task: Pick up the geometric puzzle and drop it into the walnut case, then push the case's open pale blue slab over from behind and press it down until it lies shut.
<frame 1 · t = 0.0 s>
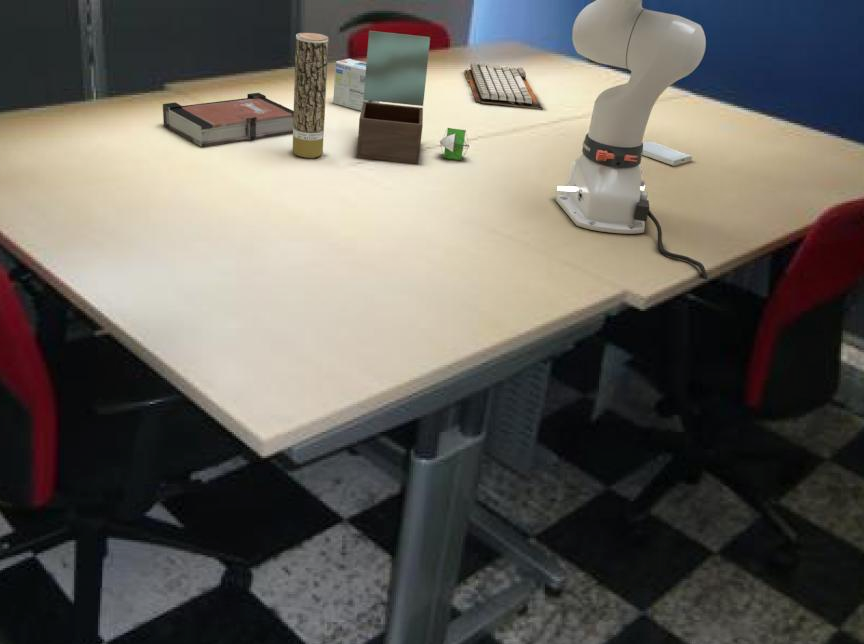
hard drive: (660, 157, 226), on the table
book: (232, 130, 212), on the table
light bulb box: (355, 106, 238), on the table
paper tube: (307, 154, 202), on the table
pale blue slab: (396, 68, 208), point 16 cm above the table, hinge at 105.0°
mechanical keyboard: (500, 89, 268), on the table
geometric puzzle: (452, 158, 210), on the table
case: (388, 151, 209), on the table
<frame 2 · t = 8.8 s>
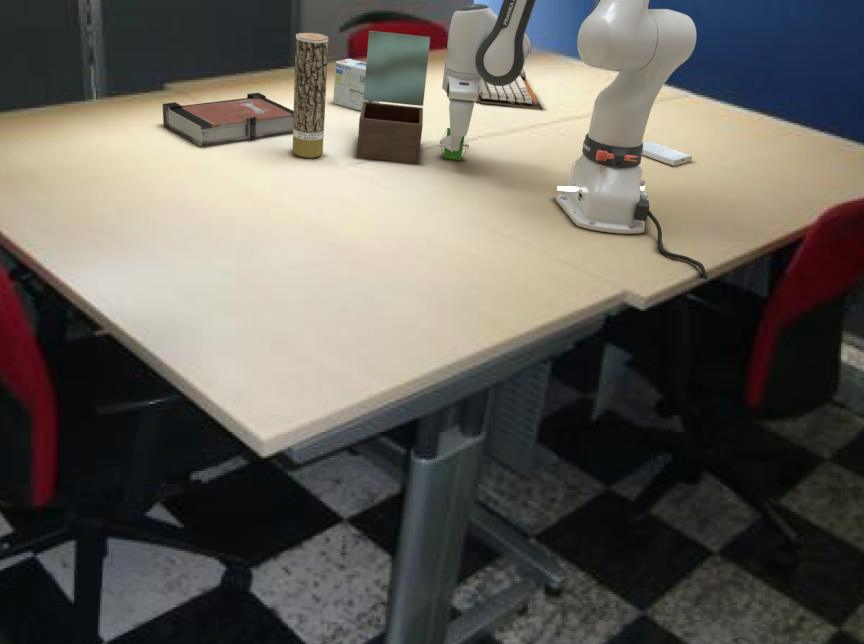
hand: (454, 143, 208), 3 cm above the table, tool pointing down, fingers closed on geometric puzzle, 7 cm apart
geometric puzzle: (452, 158, 210), on the table, touching gripper
everything else where it was.
when the fingers open (11 cm above the table, at t = 16.2 s): geometric puzzle stays where it is, resting on case.
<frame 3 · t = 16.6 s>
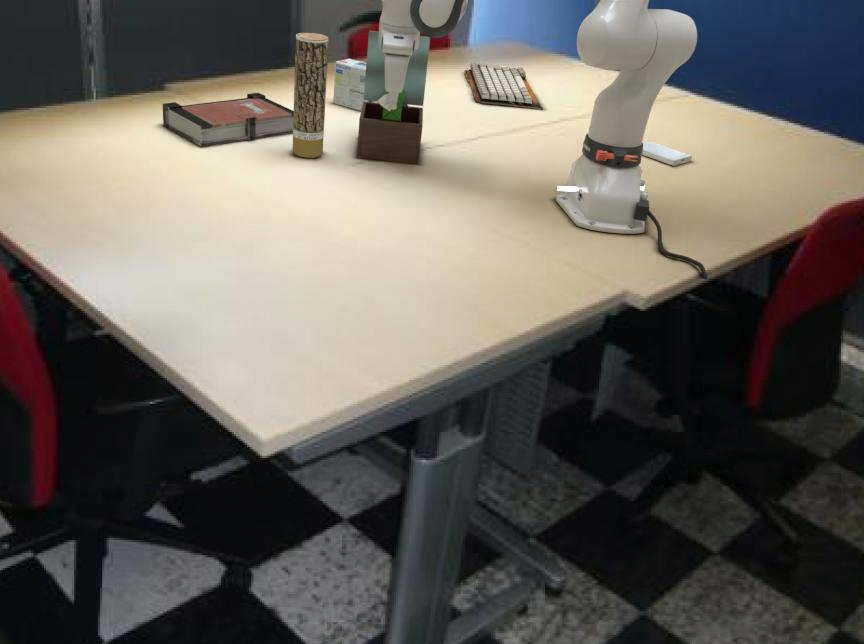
hand: (393, 103, 201), 12 cm above the table, tool pointing down, fingers open, 8 cm apart
geometric puzzle: (391, 119, 203), point 8 cm above the table, touching case, gripper
everything else where it was.
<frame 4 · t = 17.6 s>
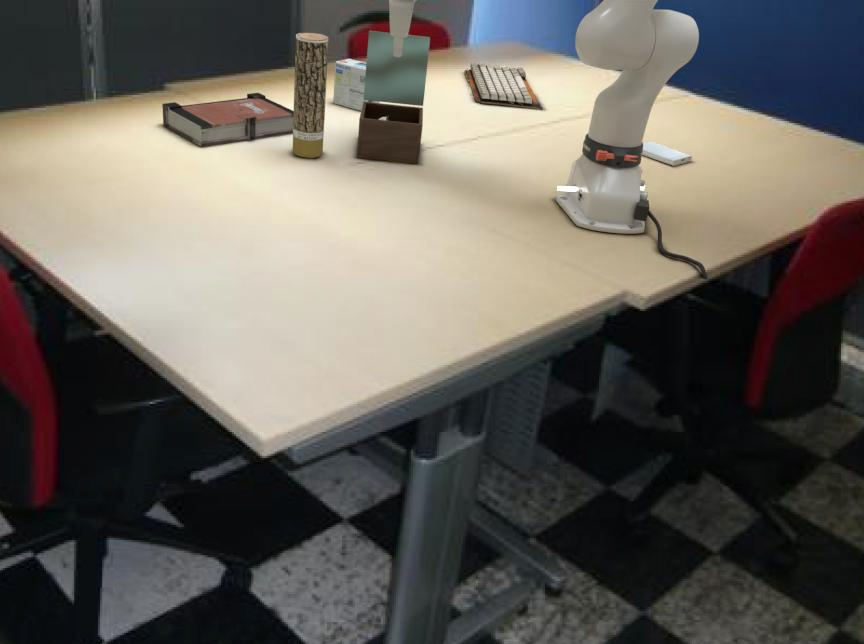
hand: (397, 51, 195), 23 cm above the table, tool pointing down, fingers open, 8 cm apart
geometric puzzle: (387, 144, 204), point 3 cm above the table, touching case
everything else where it was.
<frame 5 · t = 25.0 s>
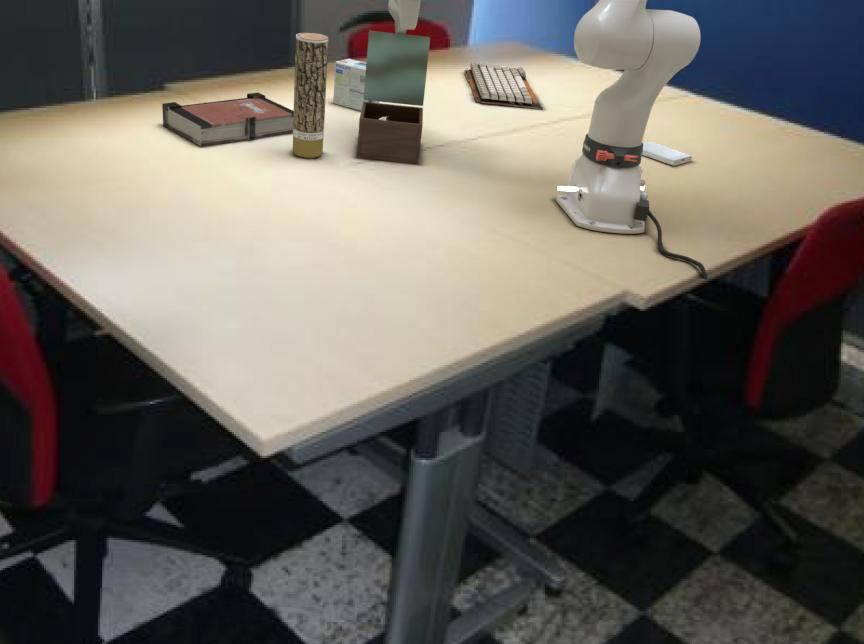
hand: (399, 42, 208), 21 cm above the table, tool pointing down, fingers closed
pale blue slab: (396, 68, 208), point 16 cm above the table, hinge at 105.0°, touching gripper
everything else where it was.
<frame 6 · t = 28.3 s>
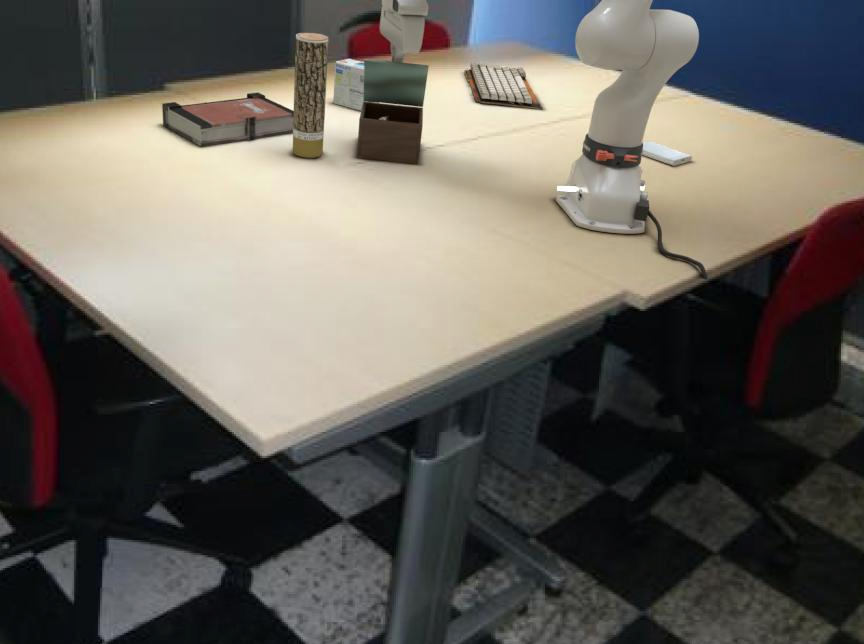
hand: (396, 65, 199), 19 cm above the table, tool pointing down, fingers closed
pale blue slab: (394, 83, 203), point 15 cm above the table, hinge at 48.3°, touching gripper
everything else where it was.
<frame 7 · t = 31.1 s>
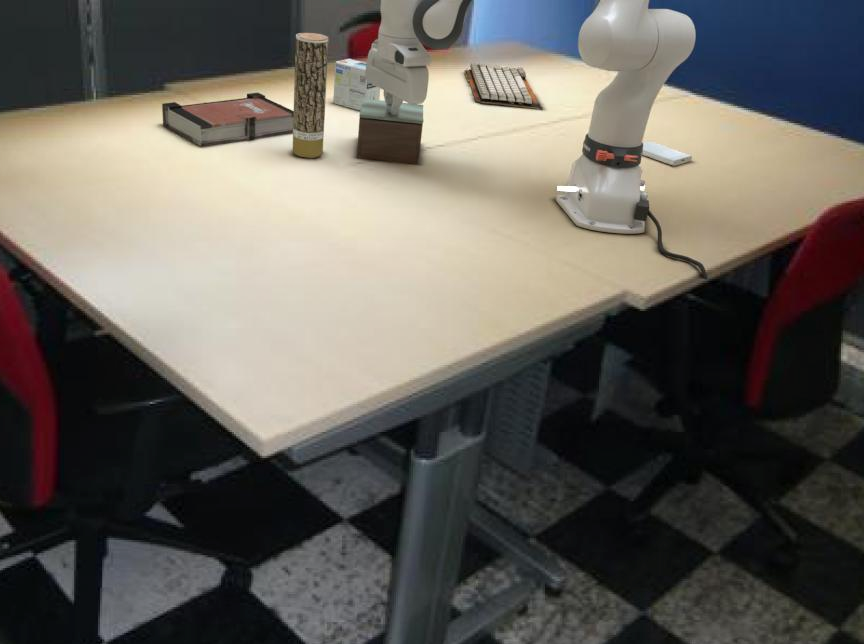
hand: (392, 113, 200), 10 cm above the table, tool pointing down, fingers closed
pale blue slab: (392, 110, 204), point 9 cm above the table, hinge at 1.6°, touching gripper
everything else where it was.
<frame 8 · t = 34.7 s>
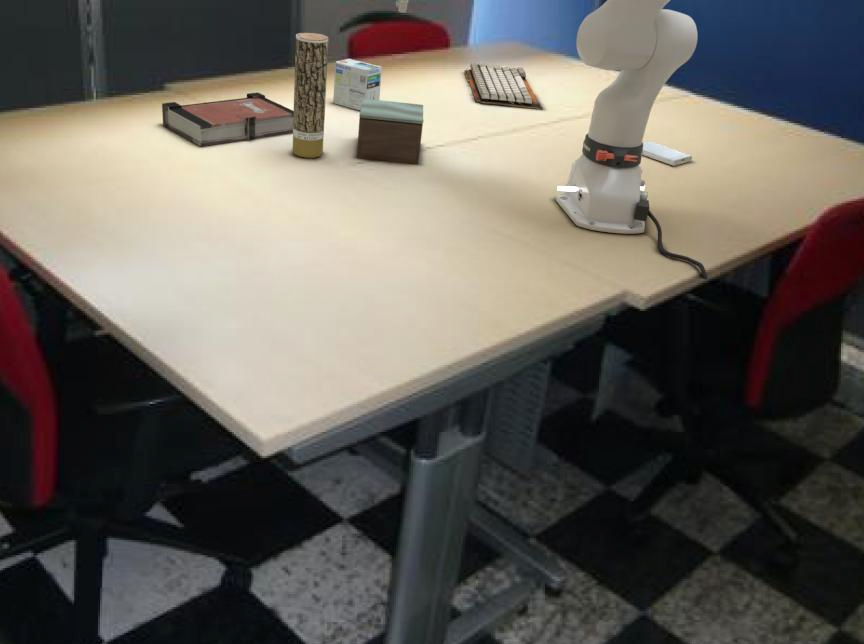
hand: (401, 11, 189), 31 cm above the table, tool pointing down, fingers closed
pale blue slab: (392, 111, 204), point 9 cm above the table, hinge at 1.5°
everything else where it was.
at the end: geometric puzzle inside the target area in the case (4.4 cm from its centre), point 2.9 cm above the case's base; pale blue slab at +2° (first picture: +105°) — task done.
